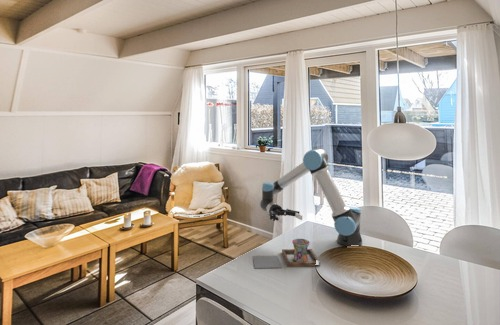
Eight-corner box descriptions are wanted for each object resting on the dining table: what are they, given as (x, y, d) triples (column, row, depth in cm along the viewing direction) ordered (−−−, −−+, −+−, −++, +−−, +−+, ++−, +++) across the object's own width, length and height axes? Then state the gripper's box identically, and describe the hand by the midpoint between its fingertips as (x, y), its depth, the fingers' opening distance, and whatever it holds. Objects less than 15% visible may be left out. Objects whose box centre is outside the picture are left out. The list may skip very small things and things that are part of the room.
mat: (277, 256, 166) (277, 255, 166) (281, 268, 152) (281, 267, 152) (253, 256, 165) (253, 256, 165) (254, 268, 151) (254, 267, 151)
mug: (310, 264, 157) (311, 245, 155) (293, 264, 157) (293, 245, 155) (306, 254, 169) (306, 236, 167) (290, 254, 169) (290, 236, 167)
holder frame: (311, 252, 172) (311, 248, 172) (319, 266, 155) (320, 262, 154) (281, 252, 171) (282, 249, 171) (287, 266, 154) (287, 263, 153)
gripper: (291, 213, 194) (309, 222, 174) (256, 217, 184) (272, 228, 164) (291, 202, 193) (310, 210, 173) (257, 205, 183) (272, 215, 164)
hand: (291, 219), depth 169 cm, fingers open, 13 cm apart
